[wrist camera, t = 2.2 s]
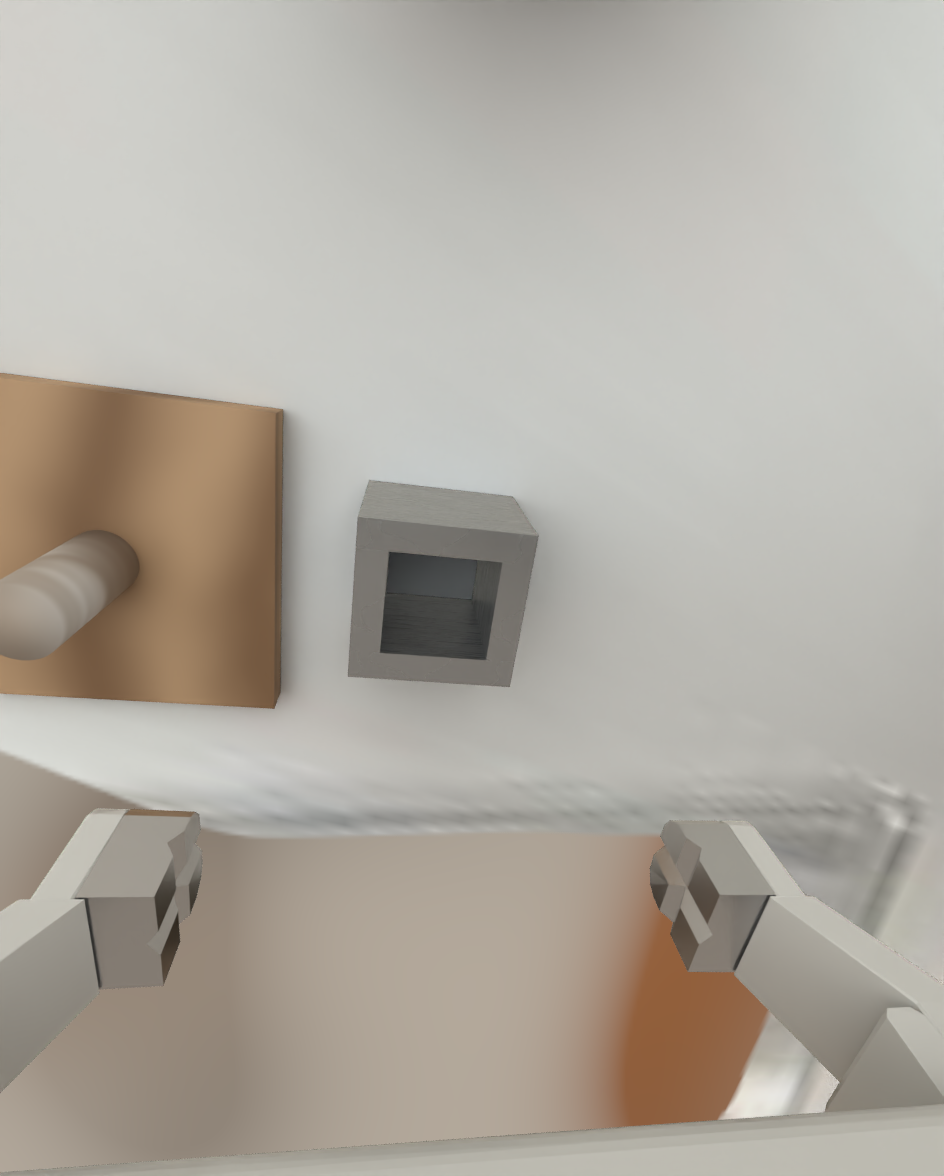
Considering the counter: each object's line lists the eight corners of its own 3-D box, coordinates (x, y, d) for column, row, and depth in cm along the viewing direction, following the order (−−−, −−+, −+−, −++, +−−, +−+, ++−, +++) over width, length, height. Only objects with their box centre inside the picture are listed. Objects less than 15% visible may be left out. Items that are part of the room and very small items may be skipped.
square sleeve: (512, 496, 22) (538, 535, 18) (491, 623, 24) (509, 686, 20) (369, 480, 22) (357, 517, 17) (360, 612, 24) (347, 676, 19)
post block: (282, 409, 20) (232, 434, 15) (280, 692, 25) (241, 795, 19) (-96, 360, 19) (-320, 367, 13) (-24, 674, 23) (-166, 781, 17)
